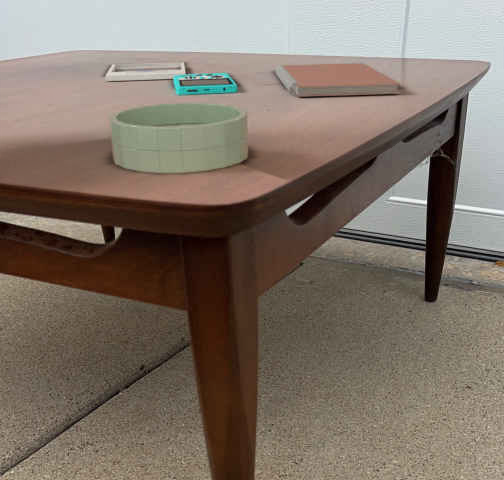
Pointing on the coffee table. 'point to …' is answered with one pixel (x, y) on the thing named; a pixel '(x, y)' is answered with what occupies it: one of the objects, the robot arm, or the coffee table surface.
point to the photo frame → (144, 74)
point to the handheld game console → (204, 84)
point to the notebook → (335, 80)
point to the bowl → (179, 137)
